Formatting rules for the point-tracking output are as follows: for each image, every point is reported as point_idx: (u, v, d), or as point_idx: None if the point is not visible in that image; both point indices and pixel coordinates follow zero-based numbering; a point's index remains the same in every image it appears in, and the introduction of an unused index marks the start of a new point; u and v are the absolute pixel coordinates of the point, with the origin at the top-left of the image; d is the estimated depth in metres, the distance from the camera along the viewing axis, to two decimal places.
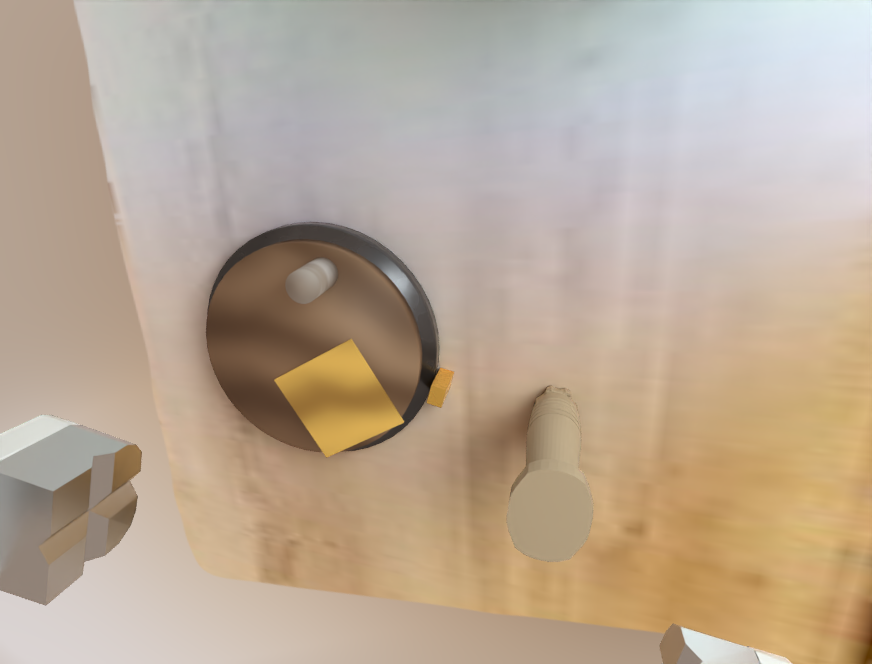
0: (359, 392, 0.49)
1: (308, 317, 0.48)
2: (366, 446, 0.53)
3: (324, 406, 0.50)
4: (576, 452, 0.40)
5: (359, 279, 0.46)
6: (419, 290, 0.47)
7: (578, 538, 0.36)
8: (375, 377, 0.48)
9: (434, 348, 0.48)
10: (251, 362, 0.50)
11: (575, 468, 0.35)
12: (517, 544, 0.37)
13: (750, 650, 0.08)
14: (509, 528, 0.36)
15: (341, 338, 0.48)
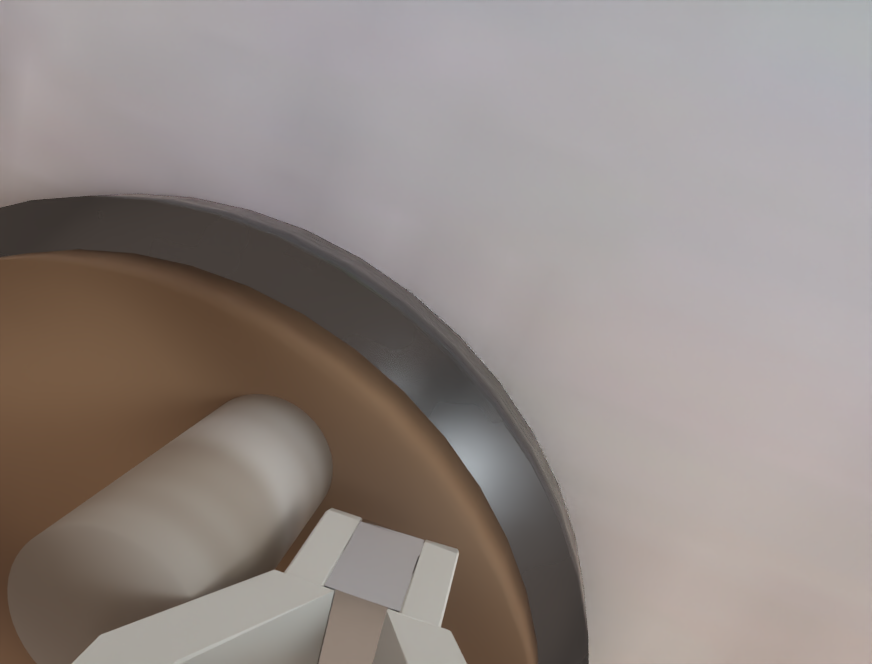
0: None
1: None
2: None
3: None
4: None
5: None
6: (586, 619, 0.13)
7: None
8: None
9: None
10: None
11: None
12: None
13: (419, 540, 0.08)
14: None
15: None
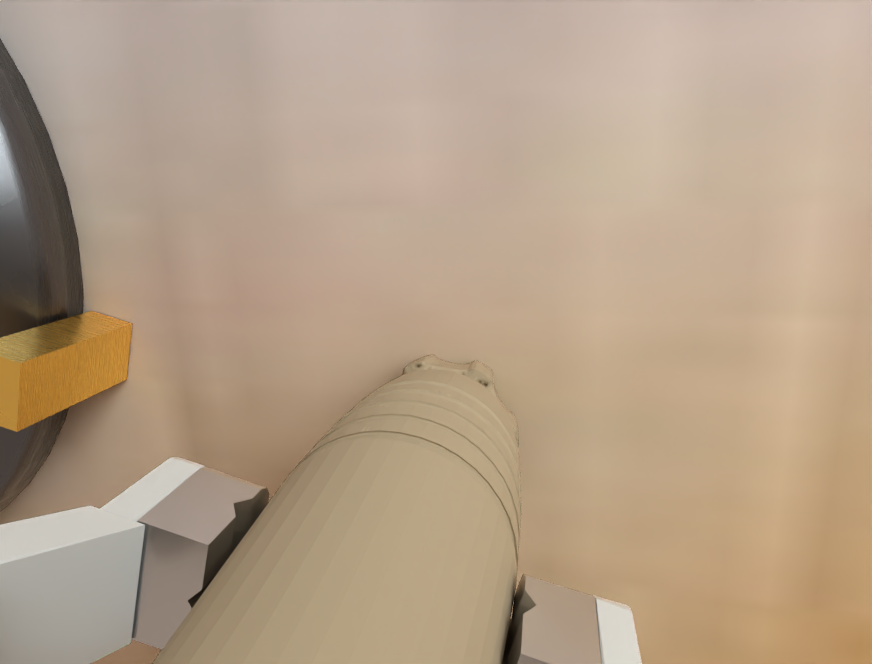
0: None
1: None
2: None
3: None
4: None
5: None
6: None
7: None
8: None
9: (22, 225, 0.14)
10: None
11: None
12: None
13: (590, 597, 0.08)
14: None
15: None
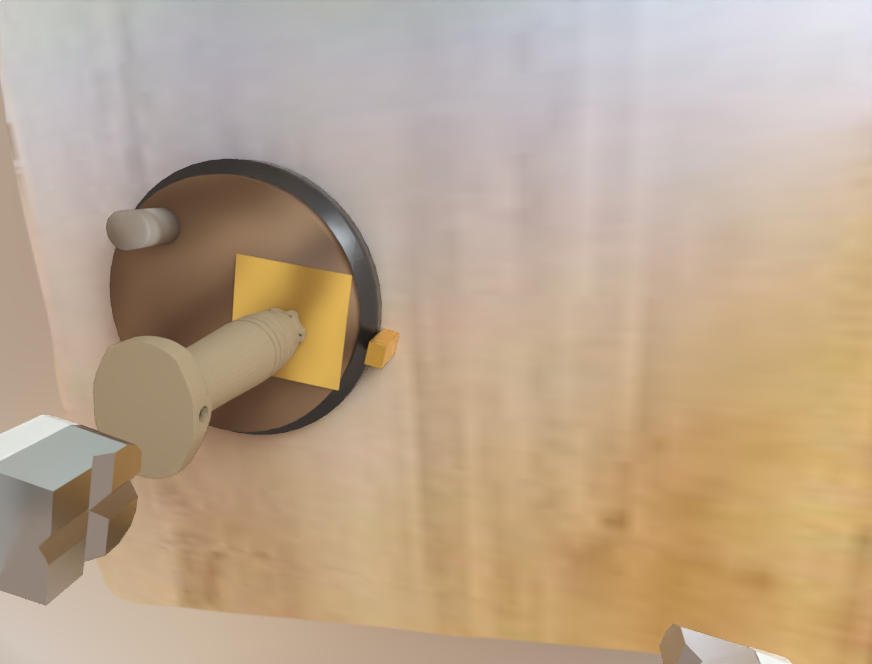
0: (292, 293, 0.40)
1: (194, 277, 0.41)
2: (298, 426, 0.45)
3: None
4: (240, 355, 0.32)
5: (189, 195, 0.40)
6: (356, 233, 0.41)
7: (181, 441, 0.27)
8: (288, 263, 0.40)
9: (374, 300, 0.41)
10: None
11: (175, 344, 0.27)
12: None
13: (750, 649, 0.08)
14: (100, 431, 0.27)
15: (232, 263, 0.41)
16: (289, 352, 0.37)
